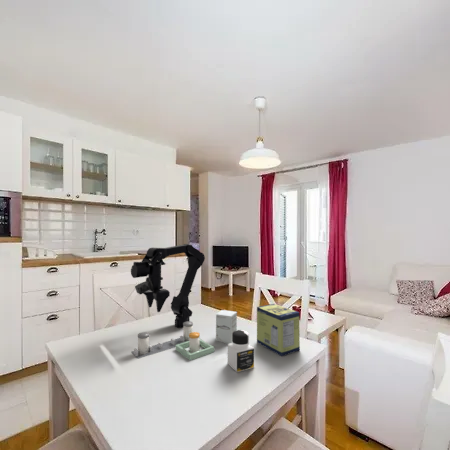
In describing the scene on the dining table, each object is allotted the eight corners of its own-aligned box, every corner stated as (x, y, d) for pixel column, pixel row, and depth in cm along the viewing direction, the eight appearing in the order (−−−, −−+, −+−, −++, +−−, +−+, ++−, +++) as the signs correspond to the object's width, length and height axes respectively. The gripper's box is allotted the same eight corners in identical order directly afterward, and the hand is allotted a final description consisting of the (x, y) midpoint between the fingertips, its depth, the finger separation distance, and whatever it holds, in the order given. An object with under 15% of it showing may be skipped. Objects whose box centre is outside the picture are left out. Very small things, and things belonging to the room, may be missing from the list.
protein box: (273, 337, 118) (273, 303, 119) (300, 350, 105) (300, 312, 106) (256, 342, 113) (256, 306, 113) (281, 357, 100) (281, 316, 100)
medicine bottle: (236, 372, 88) (237, 337, 89) (227, 363, 95) (227, 330, 95) (254, 367, 92) (254, 333, 92) (243, 359, 98) (243, 327, 98)
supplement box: (215, 343, 111) (215, 314, 112) (221, 337, 118) (222, 309, 119) (231, 346, 109) (231, 316, 109) (237, 339, 115) (237, 311, 116)
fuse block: (190, 337, 118) (190, 319, 118) (199, 342, 112) (199, 323, 112) (130, 354, 101) (131, 333, 101) (137, 362, 95) (137, 339, 95)
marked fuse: (196, 348, 105) (195, 331, 105) (201, 352, 102) (201, 334, 102) (187, 351, 102) (186, 334, 102) (193, 355, 99) (192, 337, 99)
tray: (198, 345, 110) (198, 337, 110) (214, 354, 101) (214, 346, 101) (175, 352, 103) (175, 344, 103) (190, 363, 94) (190, 355, 94)
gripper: (129, 274, 120) (129, 308, 120) (145, 280, 106) (145, 318, 106) (152, 272, 127) (152, 304, 127) (170, 277, 113) (169, 313, 113)
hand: (154, 309), depth 118 cm, fingers open, 9 cm apart
